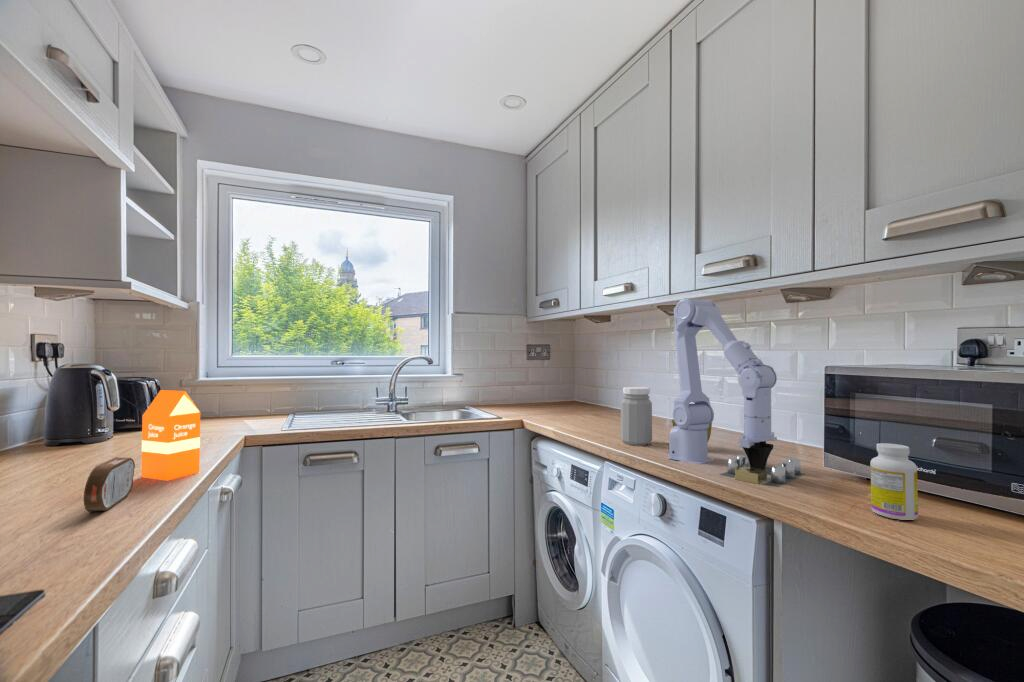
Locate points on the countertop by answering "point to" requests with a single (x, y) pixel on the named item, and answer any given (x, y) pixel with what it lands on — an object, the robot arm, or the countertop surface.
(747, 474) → the tan square block
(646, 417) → the jar
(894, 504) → the supplement bottle
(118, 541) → the countertop surface
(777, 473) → the spacers
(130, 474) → the tin
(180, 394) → the orange juice
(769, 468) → the mat
